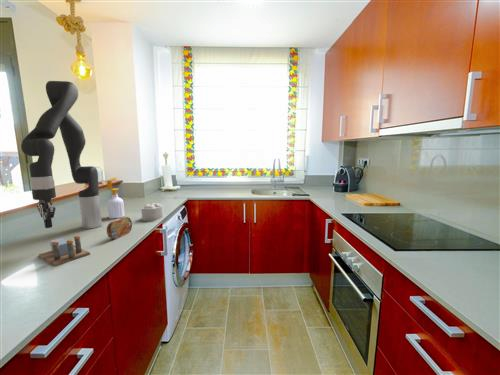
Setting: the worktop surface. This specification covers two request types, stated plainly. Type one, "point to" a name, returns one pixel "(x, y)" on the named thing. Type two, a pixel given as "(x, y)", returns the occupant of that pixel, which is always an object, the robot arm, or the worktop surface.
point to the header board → (73, 253)
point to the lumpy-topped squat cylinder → (152, 212)
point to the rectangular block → (61, 246)
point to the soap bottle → (115, 203)
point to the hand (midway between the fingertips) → (48, 227)
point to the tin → (119, 227)
